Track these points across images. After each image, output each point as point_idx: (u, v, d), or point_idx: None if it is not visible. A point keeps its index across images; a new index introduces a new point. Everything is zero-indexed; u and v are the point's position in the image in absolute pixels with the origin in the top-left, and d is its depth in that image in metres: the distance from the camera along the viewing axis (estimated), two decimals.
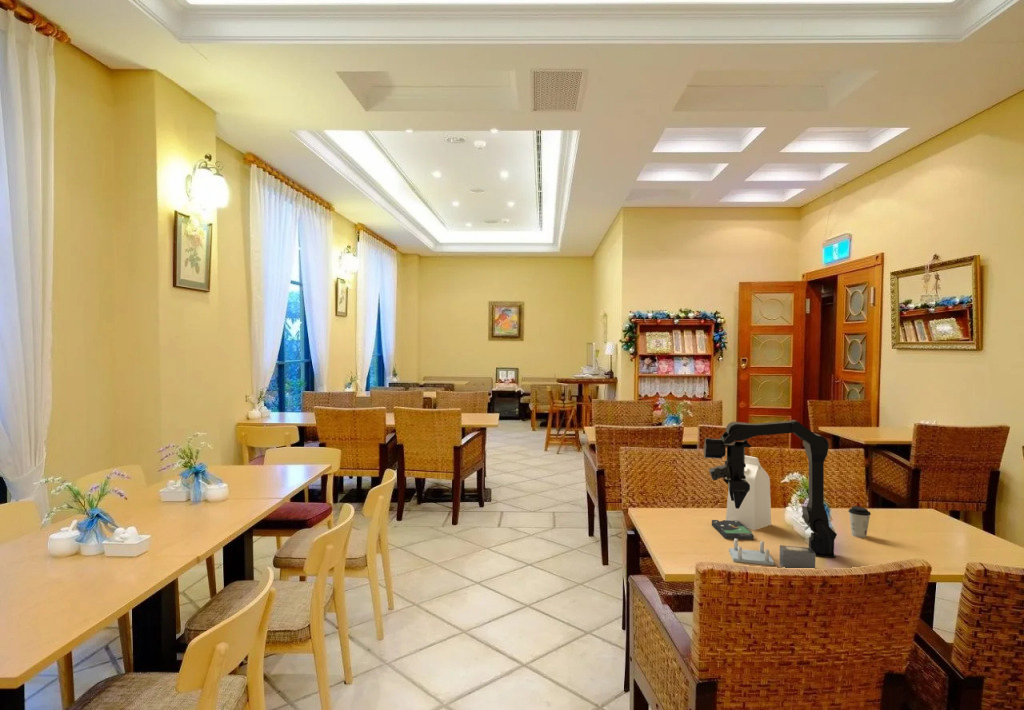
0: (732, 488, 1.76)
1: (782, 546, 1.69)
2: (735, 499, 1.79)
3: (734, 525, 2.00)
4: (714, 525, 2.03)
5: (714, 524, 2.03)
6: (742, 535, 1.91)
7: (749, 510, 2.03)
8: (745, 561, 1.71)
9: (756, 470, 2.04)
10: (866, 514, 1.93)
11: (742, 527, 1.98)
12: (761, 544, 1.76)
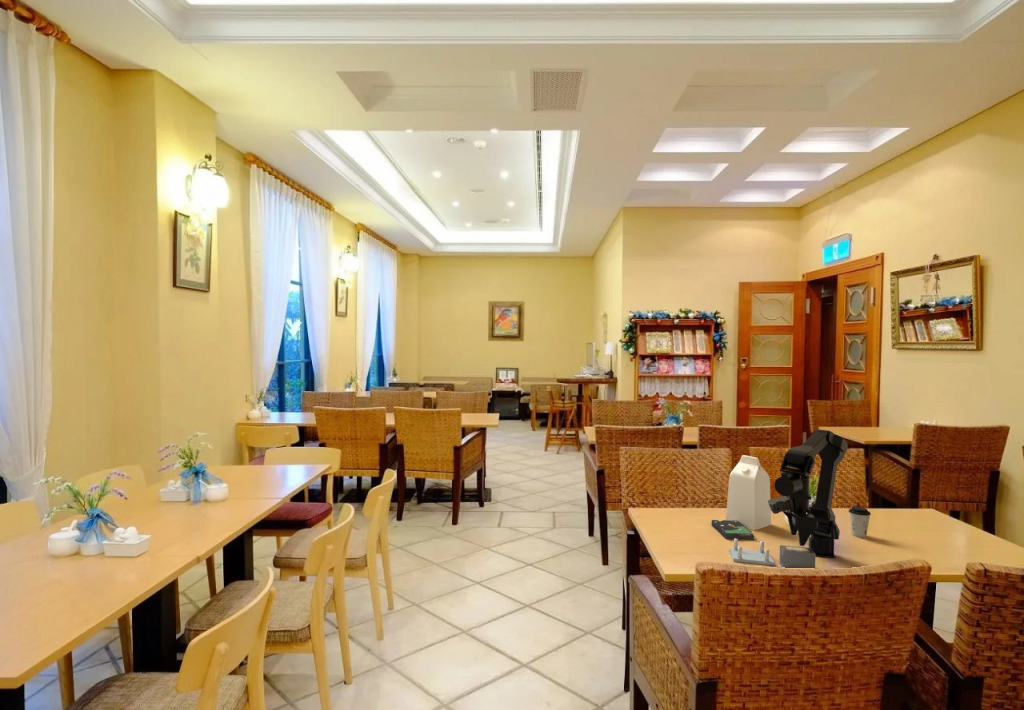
0: (798, 524, 1.58)
1: (782, 546, 1.69)
2: (800, 536, 1.62)
3: (734, 525, 2.00)
4: (714, 525, 2.03)
5: (714, 524, 2.03)
6: (742, 535, 1.91)
7: (749, 510, 2.03)
8: (745, 561, 1.71)
9: (756, 470, 2.04)
10: (866, 514, 1.93)
11: (742, 527, 1.98)
12: (761, 544, 1.76)
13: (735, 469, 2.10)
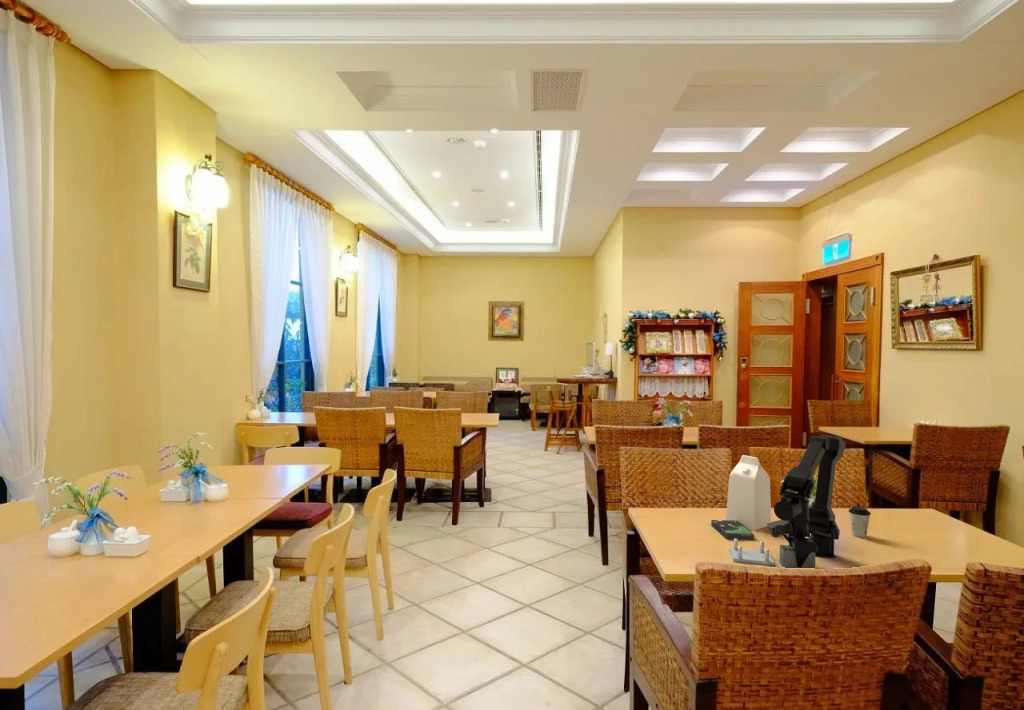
0: (798, 549, 1.58)
1: (782, 546, 1.69)
2: (797, 557, 1.64)
3: (734, 525, 2.00)
4: (714, 525, 2.03)
5: (714, 524, 2.03)
6: (743, 535, 1.91)
7: (749, 510, 2.03)
8: (745, 561, 1.71)
9: (756, 470, 2.04)
10: (866, 514, 1.93)
11: (742, 527, 1.98)
12: (761, 544, 1.76)
13: (735, 469, 2.10)
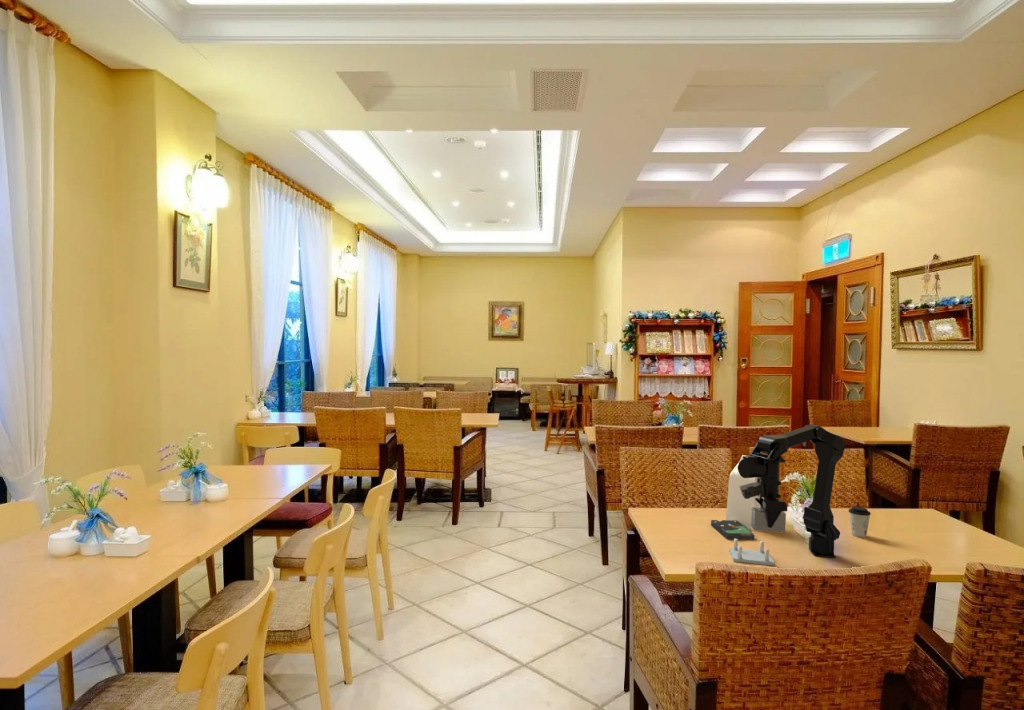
0: (768, 508, 1.62)
1: (754, 508, 1.73)
2: (768, 518, 1.68)
3: (734, 525, 2.00)
4: (714, 525, 2.03)
5: (714, 524, 2.03)
6: (743, 535, 1.91)
7: (749, 510, 2.03)
8: (745, 561, 1.71)
9: None
10: (866, 514, 1.93)
11: (742, 527, 1.98)
12: (761, 544, 1.76)
13: (735, 469, 2.10)
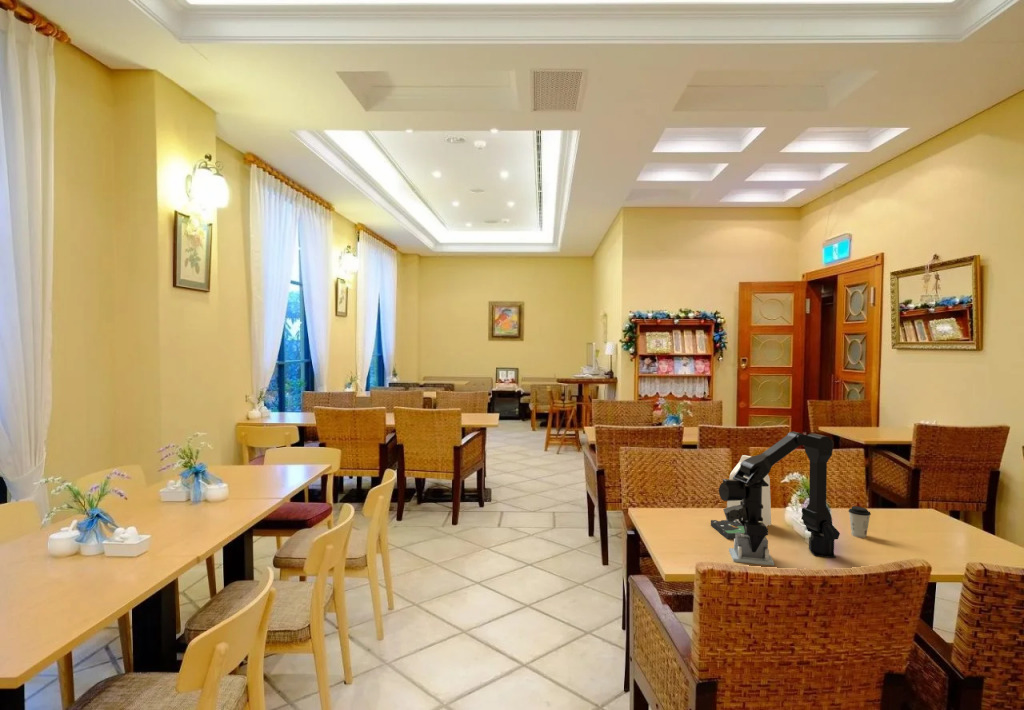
0: (749, 532, 1.66)
1: (737, 534, 1.76)
2: (752, 542, 1.69)
3: (733, 525, 2.00)
4: (714, 525, 2.03)
5: (714, 524, 2.03)
6: None
7: None
8: (745, 561, 1.71)
9: None
10: (866, 514, 1.93)
11: (742, 527, 1.98)
12: None
13: (735, 469, 2.10)
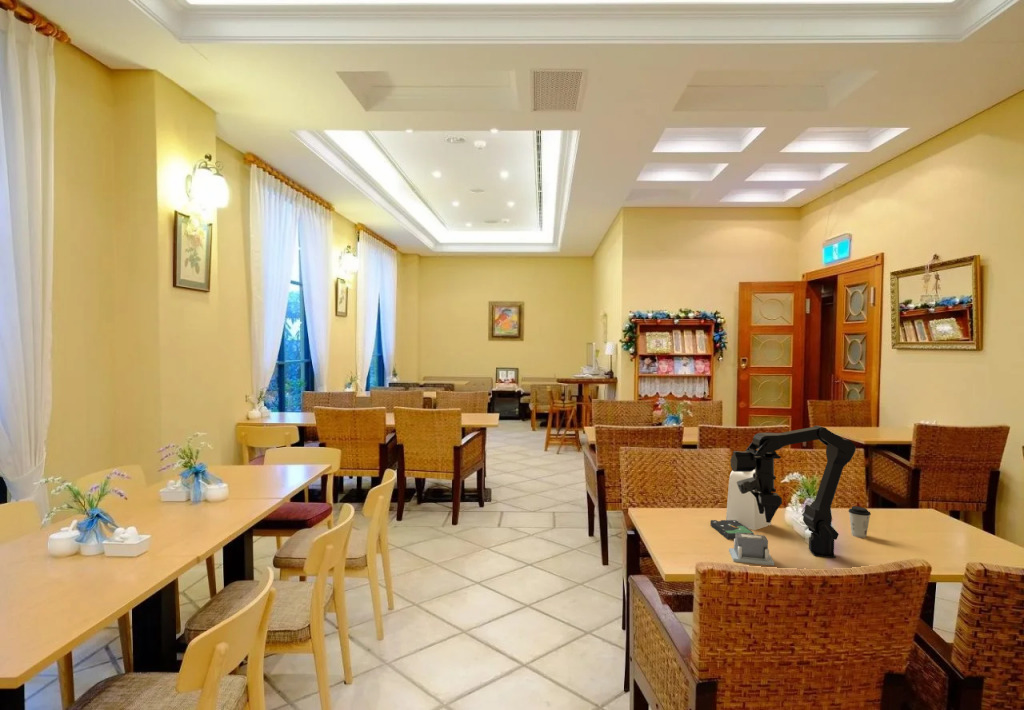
0: (764, 502, 1.70)
1: (737, 534, 1.76)
2: (766, 513, 1.74)
3: (733, 525, 2.00)
4: (713, 525, 2.02)
5: (713, 524, 2.03)
6: None
7: (749, 510, 2.03)
8: (745, 561, 1.71)
9: None
10: (866, 514, 1.93)
11: (742, 527, 1.98)
12: None
13: None
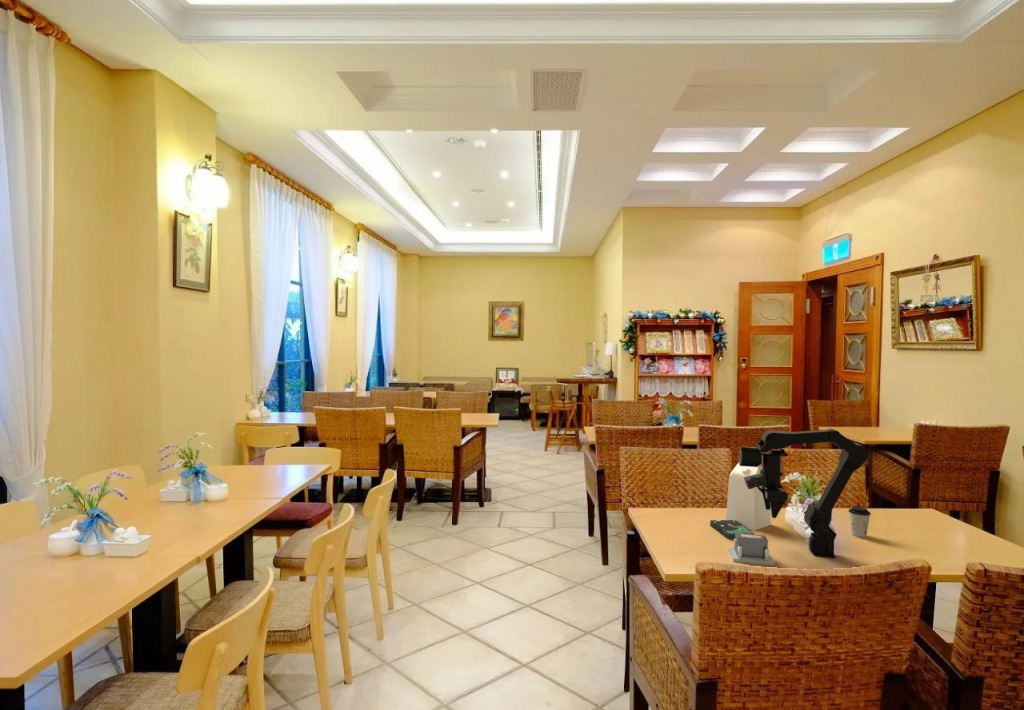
0: (770, 497, 1.74)
1: (737, 534, 1.76)
2: (772, 508, 1.77)
3: (733, 525, 2.00)
4: (713, 525, 2.02)
5: (713, 524, 2.02)
6: None
7: (749, 510, 2.03)
8: (745, 561, 1.71)
9: (756, 470, 2.04)
10: (866, 514, 1.93)
11: (742, 527, 1.99)
12: None
13: (735, 469, 2.10)
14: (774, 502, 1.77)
